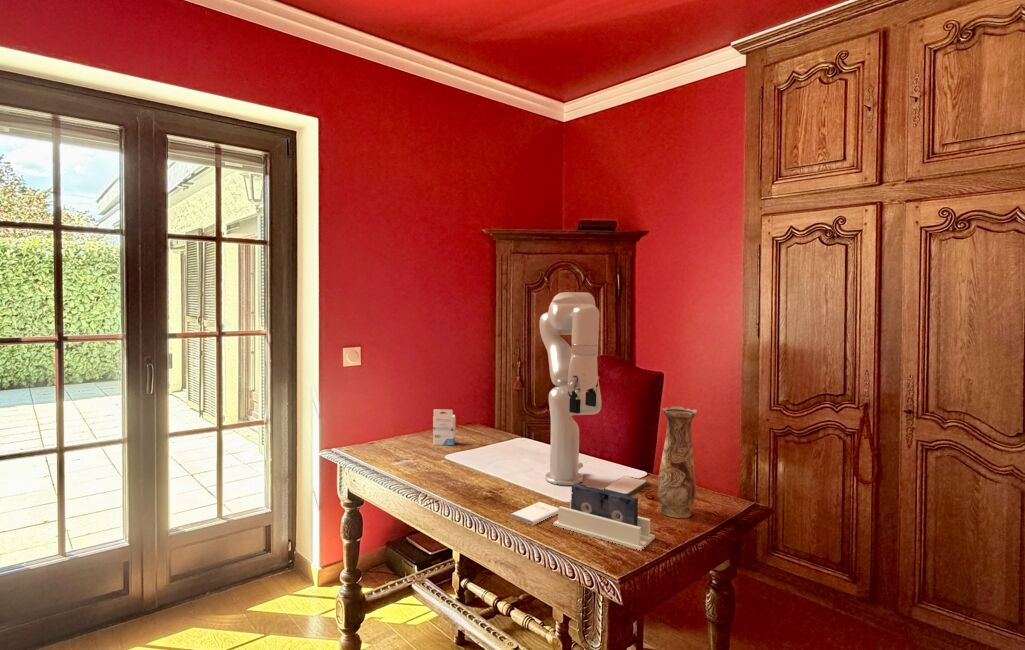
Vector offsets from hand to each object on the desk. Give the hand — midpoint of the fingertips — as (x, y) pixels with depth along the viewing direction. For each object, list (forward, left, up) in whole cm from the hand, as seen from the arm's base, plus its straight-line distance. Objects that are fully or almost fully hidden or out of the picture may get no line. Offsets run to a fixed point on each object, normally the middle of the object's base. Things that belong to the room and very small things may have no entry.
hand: (582, 409), depth 162 cm
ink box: (-30, -79, -30) cm, 90 cm away
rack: (+9, +12, -30) cm, 33 cm away
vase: (-16, +23, -30) cm, 40 cm away
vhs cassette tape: (+9, +12, -29) cm, 33 cm away
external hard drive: (+10, -9, -30) cm, 33 cm away
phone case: (-26, +3, -30) cm, 40 cm away
